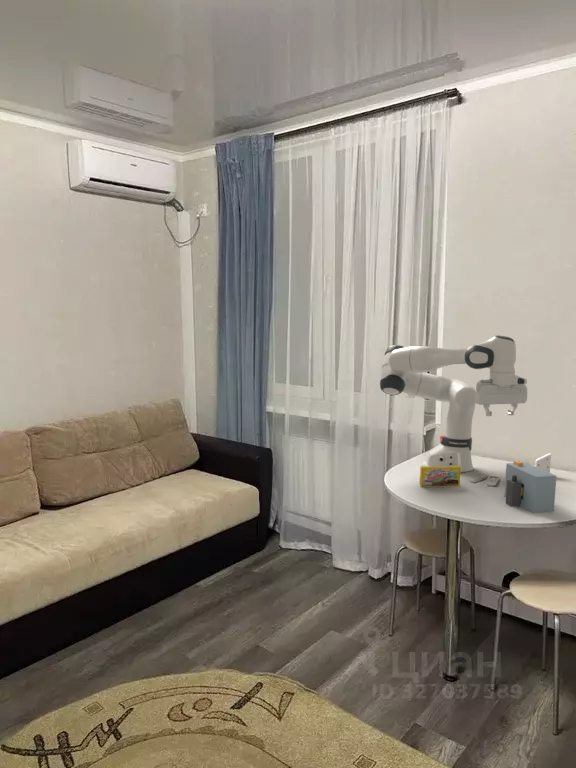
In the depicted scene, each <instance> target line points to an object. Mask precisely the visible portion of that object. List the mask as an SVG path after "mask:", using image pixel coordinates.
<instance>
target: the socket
mask: <svg viewBox="0 0 576 768" xmlns="http://www.w3.org/2000/svg"><path fill="white" fill-rule="evenodd" d="M505 465H506V466H505V481H504V482H505V483H504V497H505V498H506V489H507V480H512V475H516V476H517V480H518V481H520V482H522V486H524V494H523V496H521V501H520V507H523V508H524V509H526V510H529V511H531V512H532V513H535V514H536V513H547V512H554V511H555V503H556V502H555V501H556V488H557V475H556V474H553V473H551V472H550V473H549V472H547V471H544V470H542V469H539V468H537V467H535V465H532V464H530V463H527V462H523V461H519V460H513V462H511V463H510V462H509V463H506V464H505Z"/></svg>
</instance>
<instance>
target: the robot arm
mask: <svg viewBox="0 0 576 768" xmlns="http://www.w3.org/2000/svg"><path fill="white" fill-rule="evenodd" d="M516 357H517V347H516V341H515V340H514V339H513V338H512V337H509V336H505V335H494V336H493V337H491V338H489V339H488V340H485V341H483V342H480V343H476V344H472V345H471V346H469V347H465V348H464V347H463V348H441V347H435V346H425V345H417V346H415V345H414V346H411V345H410V346H403V345H400V344H393V345H389V346H388V347H387V348H386V350H385V352H384V357H383V360H382V365H381V374H380V381H379V386H380V387H379V388H380V390H381V391H382V392H383V393H385V394H387V395H389V396H390V395H391V396H397V395H400V394H402V393H405V394H407V395H411V396H414V397H418V398H421V399H427V400H429V401H437V402H438V401H439V402H443V403H449V407H448V412H447V415H446V417H445V418H446V419H445V435H444V434H441V435H440V436H439V442H440V443H439V444H438V445H437V446H435V447H433V448H431V449H430V450H429V451H428V453H427V456H426V459H424V460H422V461H421V466H460V467H461V472H460V474H462V473H465V472H467V473H468V472H471V471H473V470H474V467H473V460H472V447H473V438H472V428H473V427H472V426H473V417H474V413H475V409H476V404H477V405H482V406H483V410H484V411H485V416H486V417H492V416H493V411H491V410H490V407H491V405H510V406H511V407H510V409H509V410H508V409H507V410H508V411H507V415H508V416H515V411H516V410H517V408H518V404H526V402H527V400H528V388H527V387H528V386H527V384H528V381H527V380H528V379H526V378H524V377H522V376H521V377H520V376H519V375H516V370H515V363H516V361H517V360H516V359H517V358H516ZM452 365H467V366H468V368H471V369H474V370H482V369H487V368H488V369H489V379H480V380H479V381H477V383H476V387H474V386H472V385H470V384H469V383H467V382H464V381H463V380H460V379H456V378H452V377H451V378H450V377H445V376H440V375H436V374H431V373H427V372H432V371H435V370H439V369H441V368H444V367H448V366H452ZM421 466H420V467H421Z"/></svg>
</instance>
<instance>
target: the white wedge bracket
mask: <svg viewBox="0 0 576 768" xmlns="http://www.w3.org/2000/svg"><path fill="white" fill-rule="evenodd" d="M551 462H552V453H551V452H549V453H547V454H544V455H543V456H540V457H538V458H536V459H535V462H534V466H535V467H537V468H539V469H542V470H544V471H547V472H549V473H551V464H552V463H551Z"/></svg>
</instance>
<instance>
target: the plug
mask: <svg viewBox="0 0 576 768" xmlns="http://www.w3.org/2000/svg"><path fill="white" fill-rule="evenodd" d="M523 494H524V486H522V482H520V481H518V480H517V476H516V475H512V480H507V489H506V497H505V504H506V505H507V504H508V506H509V507H511V508H512V507H521V505H520V501H521V496H523Z"/></svg>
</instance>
